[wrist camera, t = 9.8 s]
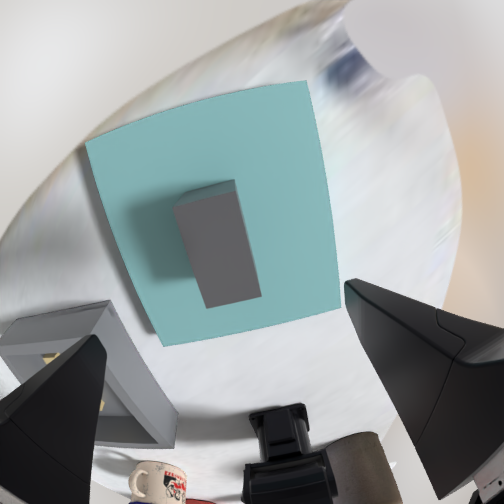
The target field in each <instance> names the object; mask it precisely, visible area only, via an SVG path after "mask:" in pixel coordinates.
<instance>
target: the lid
mask: <svg viewBox="0 0 504 504" xmlns="http://www.w3.org/2000/svg"><path fill="white" fill-rule="evenodd" d="M85 145H86V149H87V153H88V156H89V160H90V164H91V167H92V171H93V175H94V178H95V181H96V185H97V188H98V191H99V194H100V198H101V201H102V204H103V207H104V210H105V213H106V216H107V218H108V221H109V224H110V227H111V230H112V232H113V235H114V238H115V241H116V243H117V246H118V248H119V251H120V253H121V256H122V259H123V261H124V263H125V266H126V268H127V271H128V273H129V275H130V278H131V280H132V282H133V285H134V287H135V289H136V292H137V294H138V296H139V298H140V300H141V303H142V305H143V307H144V309H145V311H146V313H147V315H148V317H149V319H150V321H151V323H152V325H153V327H154V329H155V331H156V333H157V335H158V337H159V339H160V341H161V343H162V345H163V347H165V346H171V345H178V344H184V343H189V342H195V341H201V340H206V339H212V338H217V337H222V336H227V335H232V334H237V333H241V332H246V331H251V330H255V329H260V328H264V327H269V326H273V325H277V324H281V323H285V322H289V321H294V320H298V319H301V318H305V317H309V316H313V315H317V314H320V313H324V312H328V311H331V310H335V309H338V308H341V297H340V284H339V273H338V262H337V253H336V244H335V235H334V227H333V219H332V212H331V205H330V198H329V191H328V185H327V179H326V173H325V167H324V161H323V155H322V150H321V145H320V140H319V135H318V130H317V125H316V120H315V115H314V111H313V106H312V102H311V98H310V93H309V89H308V85H307V81H306V80H305V81H297V82H290V83H283V84H276V85H270V86H264V87H259V88H253V89H248V90H243V91H238V92H234V93H229V94H225V95H221V96H217V97H213V98H209V99H205V100H201V101H197V102H194V103H190V104H187V105H183V106H180V107H177V108H173V109H170V110H167V111H164V112H161V113H158V114H155V115H152V116H149V117H146V118H144V119H141V120H138V121H136V122H133V123H130V124H128V125H125V126H123V127H120V128H118V129H115V130H113V131H110V132H108V133H106V134H103V135H101V136H99V137H96V138H94V139H92V140H90V141H88V142H85Z"/></svg>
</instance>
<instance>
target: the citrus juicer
mask: <svg viewBox="0 0 504 504" xmlns="http://www.w3.org/2000/svg"><path fill="white" fill-rule="evenodd" d="M185 504H214V503H210V502H204V501H197V500H195V499H188V500H185Z"/></svg>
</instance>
